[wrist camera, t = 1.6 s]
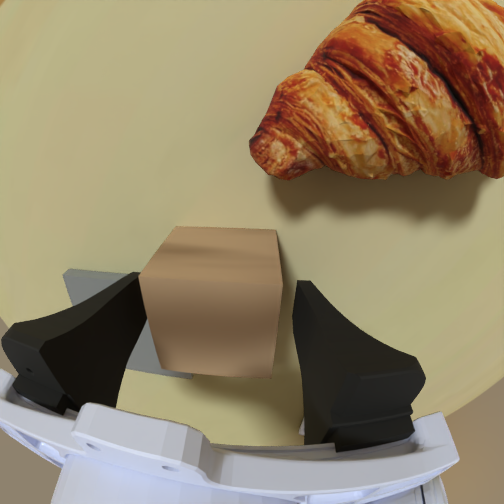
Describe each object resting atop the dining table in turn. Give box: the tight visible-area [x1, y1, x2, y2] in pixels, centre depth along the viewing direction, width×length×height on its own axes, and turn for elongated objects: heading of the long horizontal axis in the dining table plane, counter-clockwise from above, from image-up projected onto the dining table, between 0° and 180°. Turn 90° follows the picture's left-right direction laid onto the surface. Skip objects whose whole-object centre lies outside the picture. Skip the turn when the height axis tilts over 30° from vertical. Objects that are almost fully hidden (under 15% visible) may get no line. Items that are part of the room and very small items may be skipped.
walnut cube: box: [138, 226, 283, 378], centre depth 12 cm, size 5×5×5 cm
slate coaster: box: [63, 269, 193, 379], centre depth 16 cm, size 8×8×1 cm
